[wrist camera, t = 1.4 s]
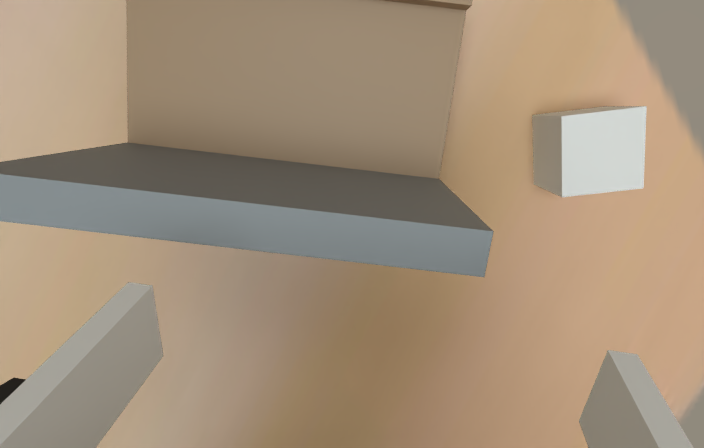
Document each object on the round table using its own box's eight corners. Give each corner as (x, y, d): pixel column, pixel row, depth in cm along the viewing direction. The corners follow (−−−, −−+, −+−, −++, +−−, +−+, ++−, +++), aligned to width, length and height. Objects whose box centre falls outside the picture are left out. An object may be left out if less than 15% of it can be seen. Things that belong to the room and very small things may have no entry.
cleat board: (421, 187, 40) (484, 277, 19) (173, 158, 40) (-40, 216, 19) (446, 17, 37) (560, -105, 16) (175, -15, 37) (-81, -181, 16)
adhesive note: (603, 106, 39) (647, 105, 33) (602, 176, 40) (643, 188, 34) (531, 114, 39) (561, 116, 33) (533, 184, 40) (562, 197, 34)
